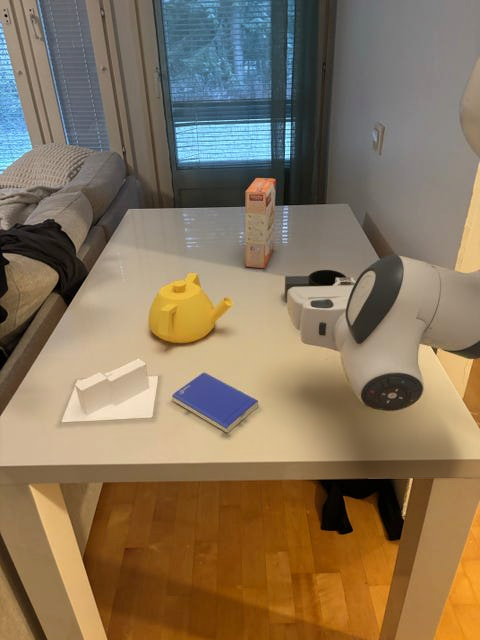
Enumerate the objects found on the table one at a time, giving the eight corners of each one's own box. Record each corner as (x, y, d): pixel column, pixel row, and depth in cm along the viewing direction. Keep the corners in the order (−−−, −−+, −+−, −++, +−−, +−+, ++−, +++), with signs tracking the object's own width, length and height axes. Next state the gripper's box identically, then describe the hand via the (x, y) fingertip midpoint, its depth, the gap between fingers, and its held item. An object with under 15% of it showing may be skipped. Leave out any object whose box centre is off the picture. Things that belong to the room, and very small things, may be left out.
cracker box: (266, 269, 125) (267, 192, 114) (244, 267, 126) (243, 190, 116) (275, 249, 137) (276, 177, 126) (254, 248, 138) (254, 176, 127)
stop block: (342, 294, 113) (344, 275, 110) (345, 302, 109) (347, 282, 107) (284, 294, 113) (285, 276, 110) (285, 302, 109) (286, 283, 107)
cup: (342, 321, 102) (348, 271, 96) (340, 340, 95) (346, 288, 89) (307, 317, 103) (310, 268, 97) (303, 335, 97) (306, 284, 91)
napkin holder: (158, 375, 87) (155, 349, 84) (153, 417, 77) (149, 390, 74) (76, 379, 86) (70, 354, 83) (60, 423, 76) (52, 396, 73)
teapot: (221, 361, 90) (218, 312, 84) (133, 350, 94) (125, 302, 88) (244, 310, 106) (243, 266, 101) (169, 302, 110) (164, 260, 105)
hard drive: (171, 394, 79) (226, 426, 73) (204, 371, 85) (258, 399, 78) (172, 401, 80) (226, 434, 73) (204, 378, 86) (258, 406, 79)
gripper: (438, 302, 65) (407, 262, 77) (292, 306, 66) (284, 265, 78) (430, 340, 69) (402, 295, 81) (291, 343, 69) (283, 299, 81)
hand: (343, 281), depth 79 cm, fingers closed
